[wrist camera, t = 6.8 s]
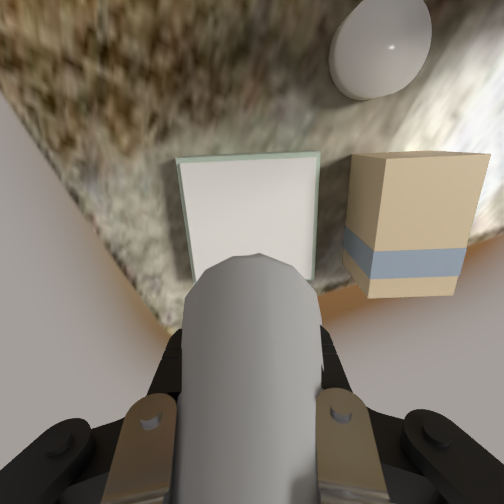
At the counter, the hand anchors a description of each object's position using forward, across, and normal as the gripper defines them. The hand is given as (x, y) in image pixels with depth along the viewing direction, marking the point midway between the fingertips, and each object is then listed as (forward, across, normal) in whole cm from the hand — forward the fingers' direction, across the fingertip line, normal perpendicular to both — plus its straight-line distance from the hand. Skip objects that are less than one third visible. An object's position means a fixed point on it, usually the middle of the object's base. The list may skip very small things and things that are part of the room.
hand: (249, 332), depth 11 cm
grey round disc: (+18, -10, -13) cm, 24 cm away
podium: (+18, 0, 0) cm, 18 cm away
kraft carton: (+18, -13, 0) cm, 22 cm away
